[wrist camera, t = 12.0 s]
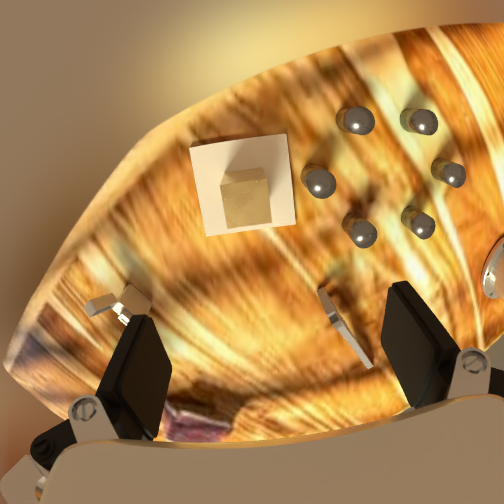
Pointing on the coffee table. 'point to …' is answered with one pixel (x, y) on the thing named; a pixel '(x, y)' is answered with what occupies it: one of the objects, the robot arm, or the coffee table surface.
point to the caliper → (342, 326)
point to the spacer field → (412, 218)
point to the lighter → (120, 304)
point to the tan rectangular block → (245, 198)
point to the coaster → (241, 158)
